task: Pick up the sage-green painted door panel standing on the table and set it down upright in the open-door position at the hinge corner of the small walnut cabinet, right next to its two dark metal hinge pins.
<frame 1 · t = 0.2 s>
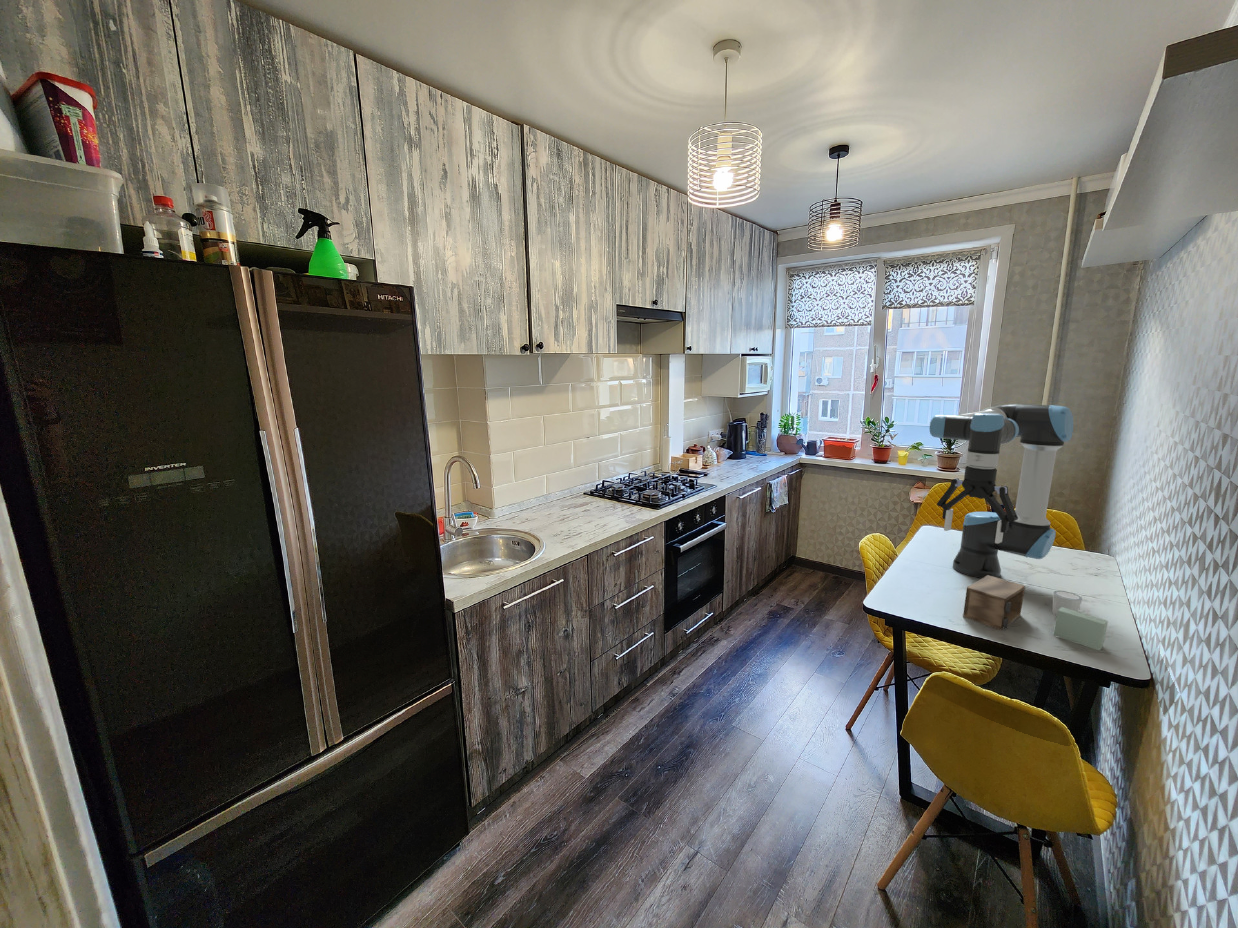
hand: (971, 536, 149), 28 cm above the table, fingers open, 13 cm apart
shot glass: (1064, 616, 158), on the table
cabinet: (991, 615, 157), on the table
door: (1077, 640, 143), on the table
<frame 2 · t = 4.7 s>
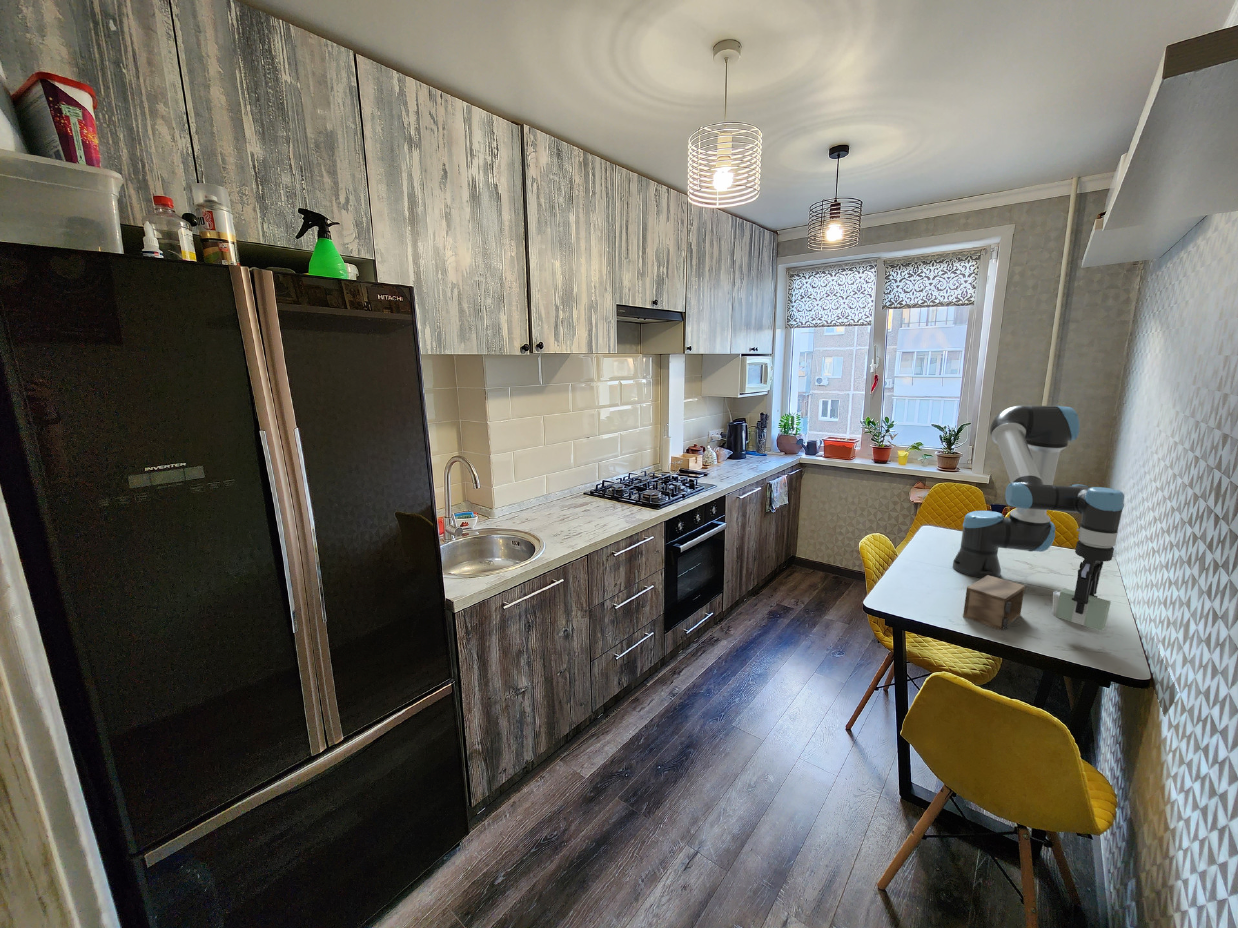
hand: (1080, 620, 142), 6 cm above the table, fingers closed on door, 3 cm apart
door: (1079, 621, 142), point 6 cm above the table, touching gripper
everything else where it was.
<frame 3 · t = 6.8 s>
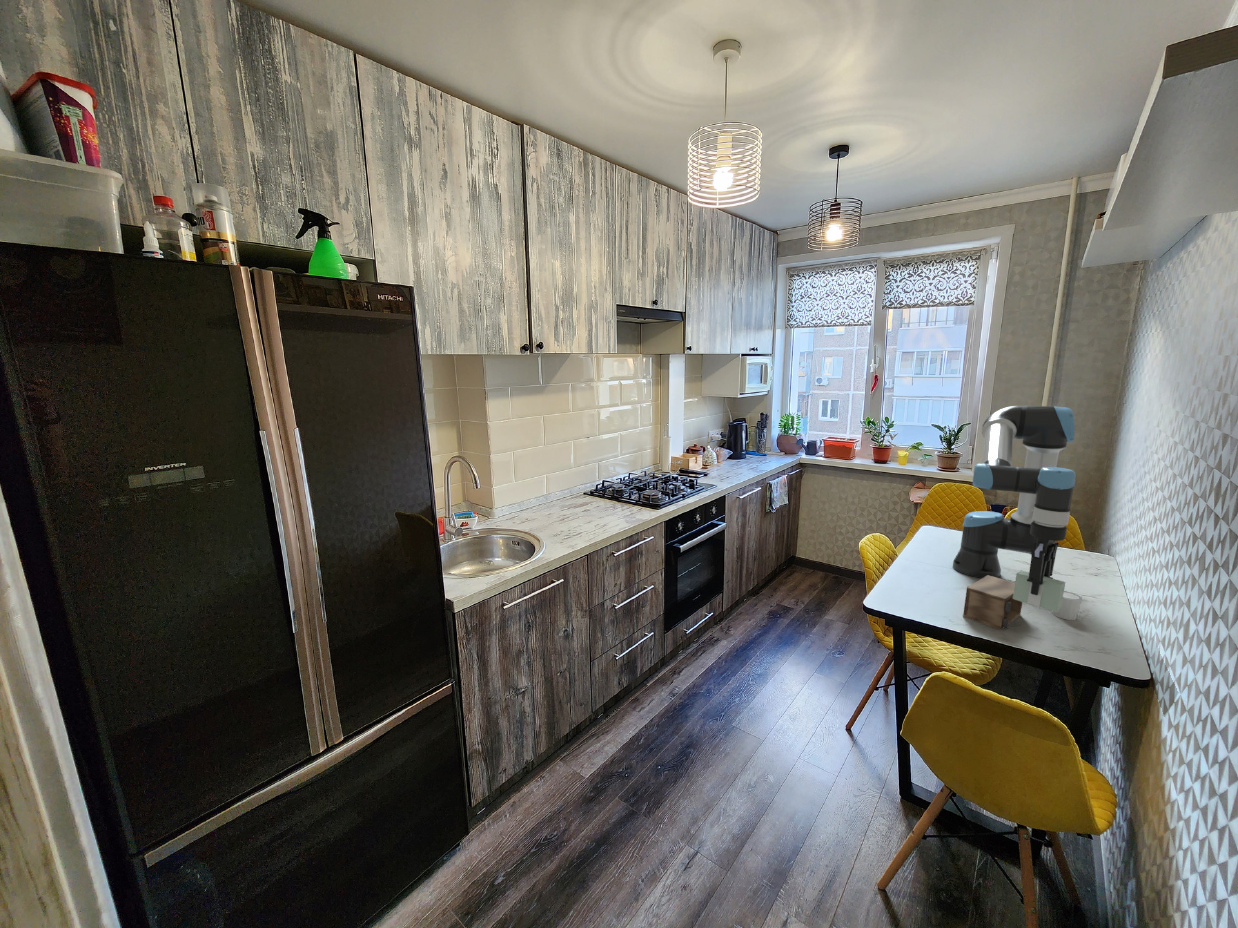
hand: (1036, 602, 141), 12 cm above the table, fingers closed on door, 3 cm apart
door: (1036, 603, 141), point 11 cm above the table, touching gripper
everything else where it was.
when the fingers open (1 cm above the table, at t = 8.8 s): door stays where it is, on the table.
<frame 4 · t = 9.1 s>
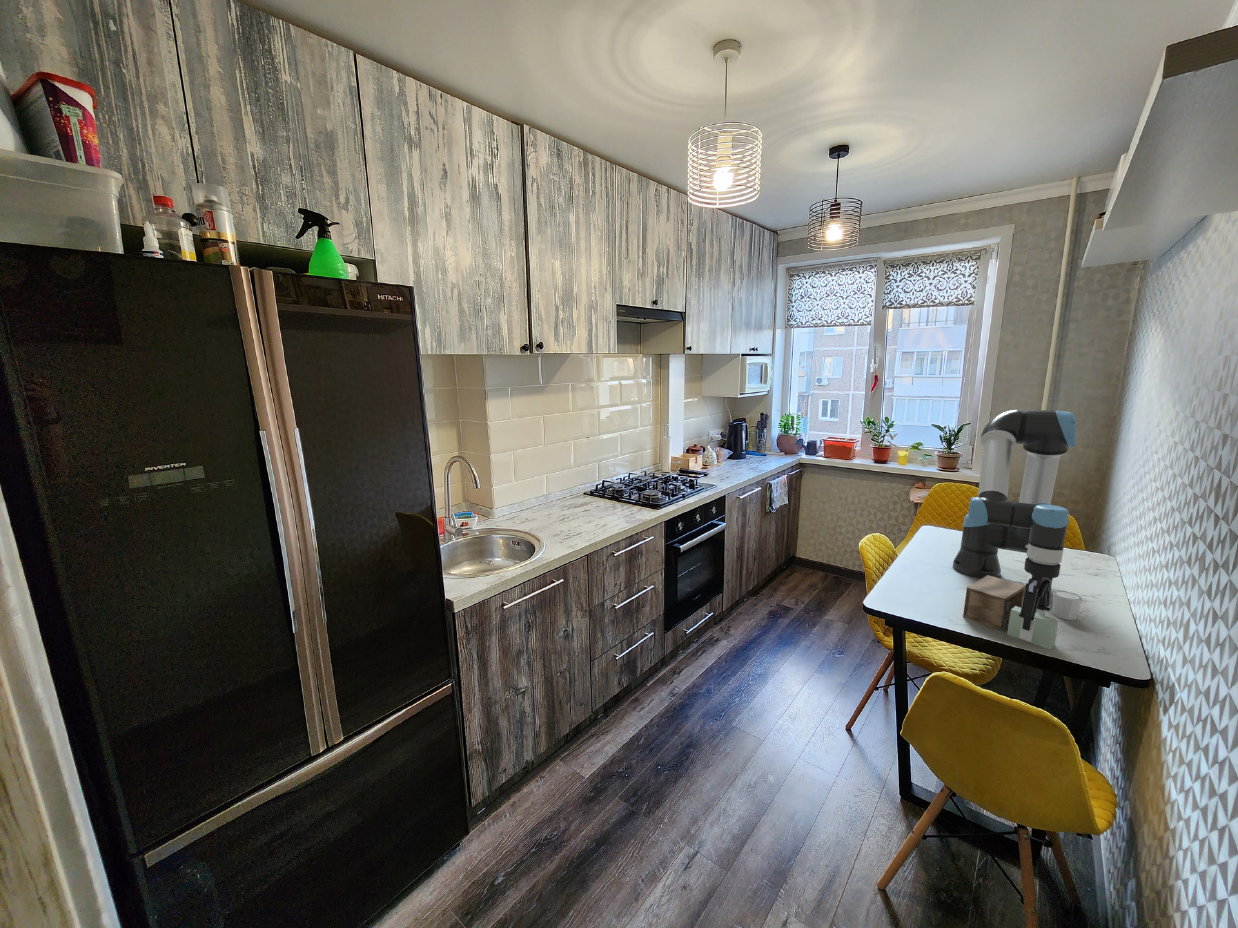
hand: (1030, 634, 143), 2 cm above the table, fingers open, 8 cm apart
door: (1030, 639, 144), on the table
everything else where it was.
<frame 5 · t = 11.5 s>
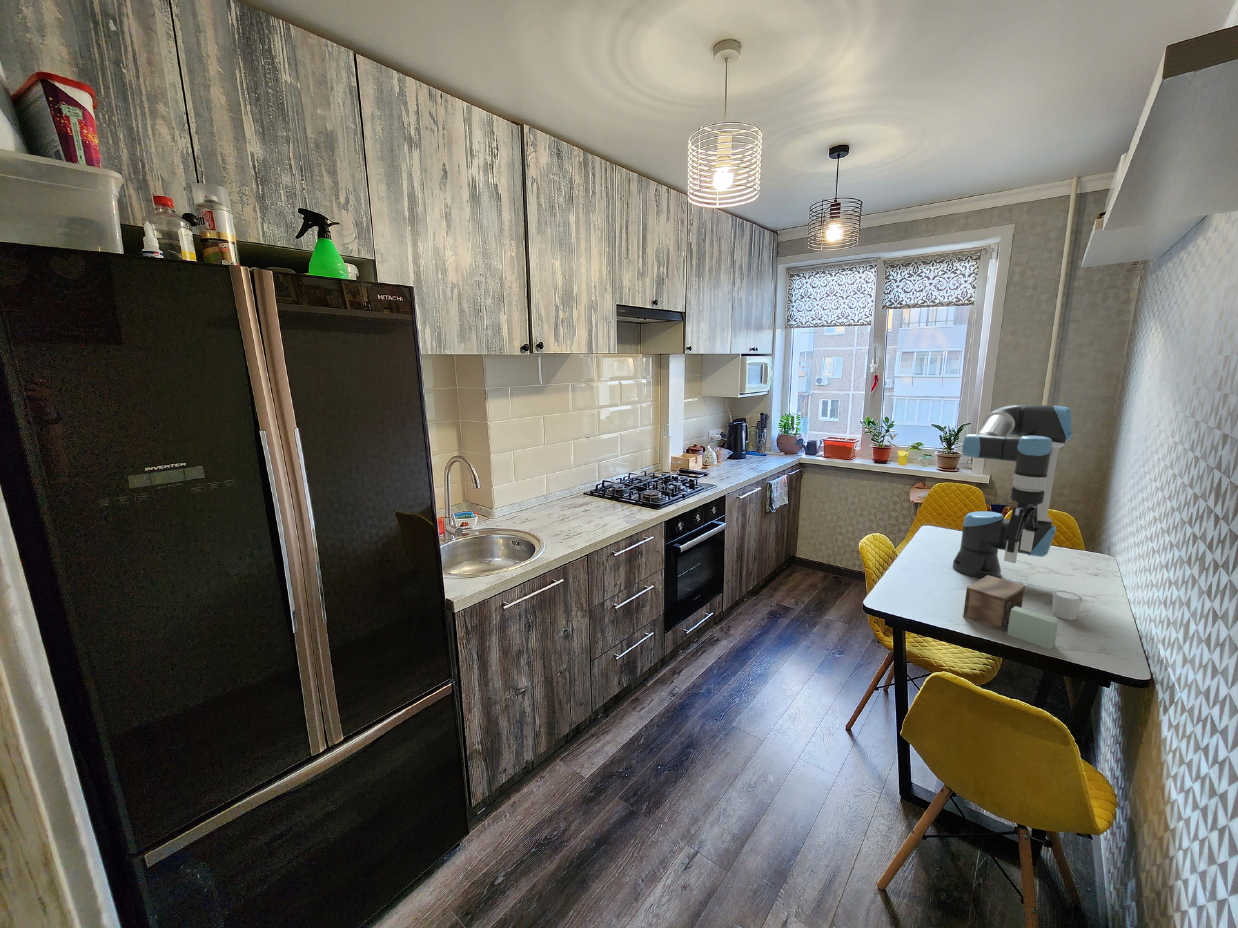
hand: (1017, 556, 151), 21 cm above the table, fingers open, 13 cm apart
nothing on the table moved.
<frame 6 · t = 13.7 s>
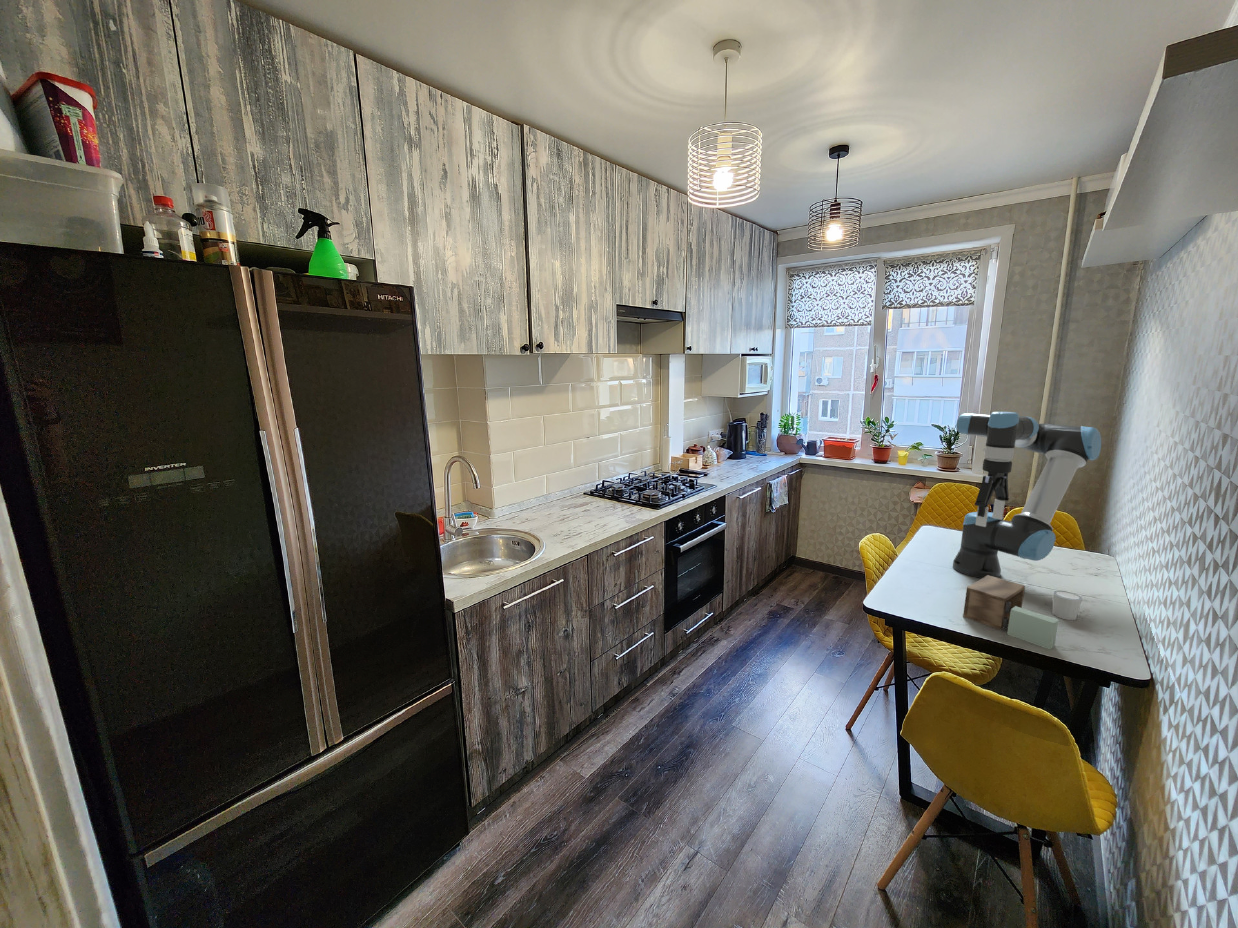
hand: (989, 522, 166), 27 cm above the table, fingers open, 13 cm apart
nothing on the table moved.
at the end: door 0.2 cm from the target spot on the table beside the cabinet, on the table; door tilted 0°; the gripper is holding nothing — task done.
